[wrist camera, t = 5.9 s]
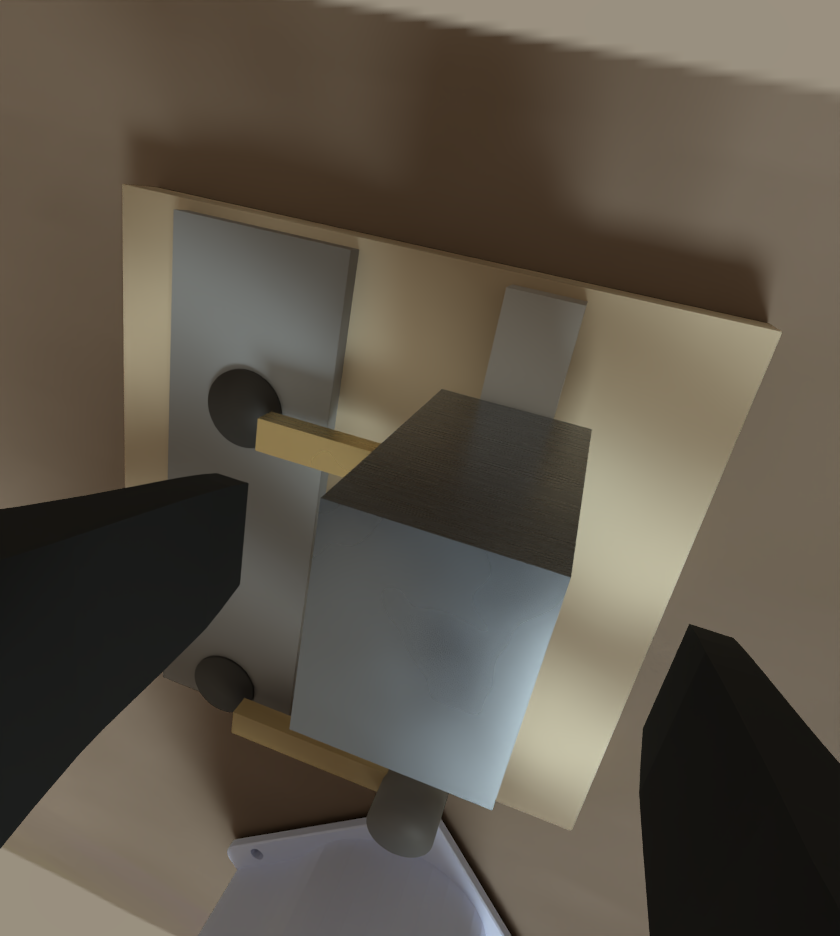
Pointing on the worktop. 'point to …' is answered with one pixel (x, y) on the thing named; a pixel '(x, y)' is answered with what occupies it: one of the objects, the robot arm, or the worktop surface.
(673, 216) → the worktop surface
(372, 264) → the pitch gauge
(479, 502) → the grey rectangular block
